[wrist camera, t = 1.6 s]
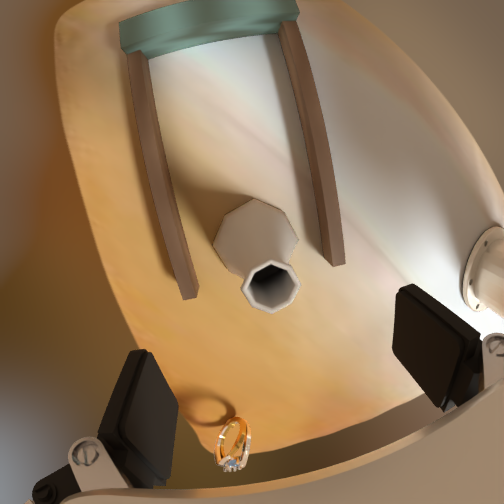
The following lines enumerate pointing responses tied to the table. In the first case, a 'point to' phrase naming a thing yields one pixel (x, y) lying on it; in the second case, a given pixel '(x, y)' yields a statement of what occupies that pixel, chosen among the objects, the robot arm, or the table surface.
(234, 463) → the ring
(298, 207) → the table surface
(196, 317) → the table surface
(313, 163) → the guide channel
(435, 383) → the robot arm
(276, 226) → the flask
